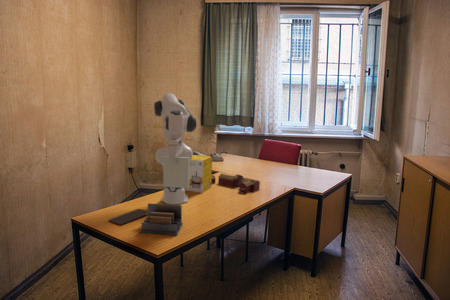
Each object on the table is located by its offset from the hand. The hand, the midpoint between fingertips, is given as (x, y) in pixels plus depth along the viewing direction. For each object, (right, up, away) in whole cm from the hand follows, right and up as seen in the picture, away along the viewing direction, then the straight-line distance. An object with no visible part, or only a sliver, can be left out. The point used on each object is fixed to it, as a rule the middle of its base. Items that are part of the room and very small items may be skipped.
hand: (176, 162), depth 213 cm
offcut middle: (-8, -36, -2) cm, 37 cm away
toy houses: (+33, -22, +86) cm, 95 cm away
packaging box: (+7, -23, +76) cm, 80 cm away
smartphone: (-30, -35, +14) cm, 48 cm away
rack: (-8, -38, -2) cm, 39 cm away
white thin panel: (0, -14, +3) cm, 15 cm away
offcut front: (-8, -37, -6) cm, 39 cm away
